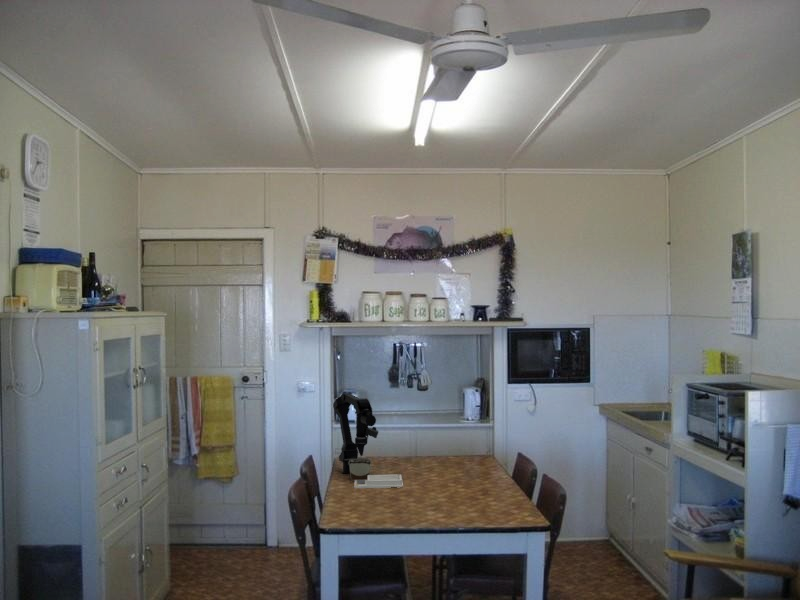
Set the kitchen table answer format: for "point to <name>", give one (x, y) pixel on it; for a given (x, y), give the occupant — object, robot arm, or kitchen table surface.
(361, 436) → the robot arm
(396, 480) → the dock
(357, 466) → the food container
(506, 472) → the kitchen table surface
